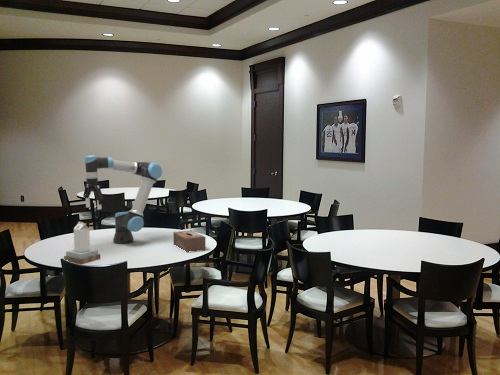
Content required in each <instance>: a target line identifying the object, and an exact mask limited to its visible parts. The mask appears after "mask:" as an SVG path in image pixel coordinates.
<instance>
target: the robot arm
mask: <svg viewBox="0 0 500 375" xmlns="http://www.w3.org/2000/svg"><path fill="white" fill-rule="evenodd" d="M84 163H85V164H84V165H85V178H86V181H85V182H86V184H85V185H84V191H83V195H82V196H83V198H84V199H85V208H90V207H91V201H90V195H91V194H92V192H93V193H94V195H95V196H96V199H97V200H96V205H97V210H98V211H99V210H102V209H103V208H102V204H103V203H102V200H104V195H103V193H102V190H101V186H100V185H98V184H99V178H98V176H99V175H98V170H100V169H105V170H106V169H107V170H113V171H119V172H126V173H131V175H136V176H140V177H141V182H140V186H139V188H138V190H137V193H136V196H135V198H134V202H133V204H132V206H131V209H130V210H128V211H121V212H116V213H115V214H114V226H115V227H114V229H115V232H114V237H113V238H112V243H114V244H116V245H117V244H118V245H121V244H122V245H123V244H124V245H125V244H131V243H133V242H134V236H133V233H134V232H135V233H137V232H139V231H141V230H142V229H143V228H144V225H145V222H144V213H143V212H144V210H145V208H146V205H147V202H148V200H149V199H148V198H149V197H150V194H151V191H152V189H153V186H154V184H155V183H157V181H158V179H159V178H161V177H162V174H163V169H162V166H161V165H160V164H159V163H157V162H150V161H149V162H148V161H141V162H140V161H133V162H131V161H124V160H119V159H118V160H117V159H113V158H112V157H111V156H109V157H108V156H107V157H105V156H103V157H102V156H97V155H93V154H91V155H89V154H88V155H85V157H84Z"/></svg>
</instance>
